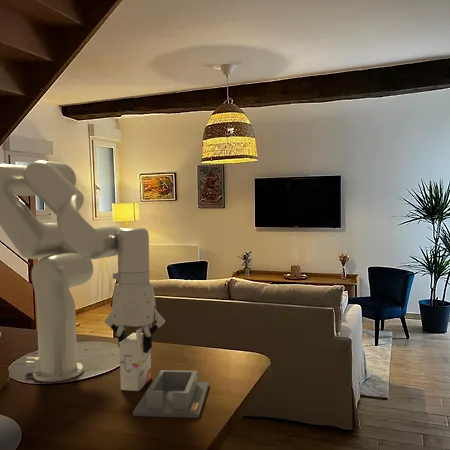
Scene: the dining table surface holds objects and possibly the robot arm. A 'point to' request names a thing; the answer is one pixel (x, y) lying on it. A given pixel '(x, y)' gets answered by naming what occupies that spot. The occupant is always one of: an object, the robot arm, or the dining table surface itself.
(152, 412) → the grey box holder
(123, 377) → the ink cartridge box
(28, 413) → the dining table surface
